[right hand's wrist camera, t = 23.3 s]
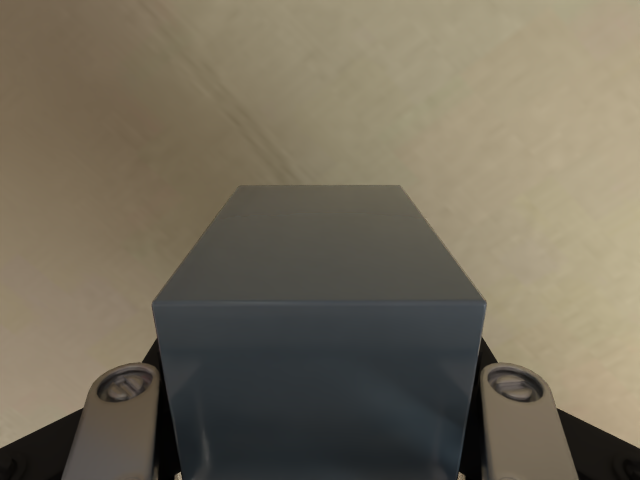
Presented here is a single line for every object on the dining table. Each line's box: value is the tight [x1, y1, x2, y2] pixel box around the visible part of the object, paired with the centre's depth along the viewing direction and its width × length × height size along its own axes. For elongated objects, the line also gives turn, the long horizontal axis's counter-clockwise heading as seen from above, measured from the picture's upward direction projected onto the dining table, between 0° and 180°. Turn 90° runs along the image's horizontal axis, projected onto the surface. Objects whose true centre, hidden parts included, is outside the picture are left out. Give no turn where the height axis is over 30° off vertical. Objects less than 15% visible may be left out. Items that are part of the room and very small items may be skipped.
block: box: [152, 185, 487, 480], centre depth 11 cm, size 5×7×7 cm
